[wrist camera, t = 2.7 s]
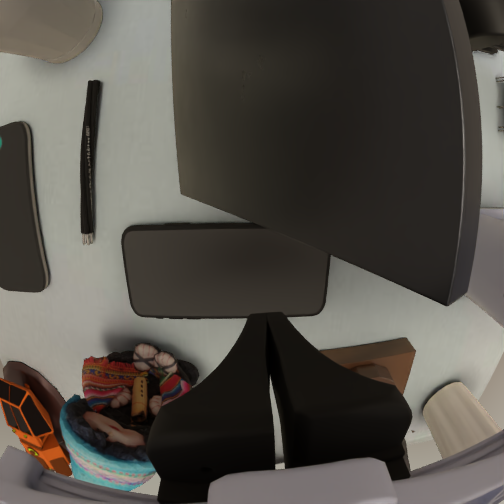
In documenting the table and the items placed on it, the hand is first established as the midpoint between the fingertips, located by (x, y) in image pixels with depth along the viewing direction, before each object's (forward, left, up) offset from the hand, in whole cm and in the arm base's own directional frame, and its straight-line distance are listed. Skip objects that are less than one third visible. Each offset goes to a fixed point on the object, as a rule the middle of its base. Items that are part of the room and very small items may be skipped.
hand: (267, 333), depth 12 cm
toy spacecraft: (+30, +21, -11) cm, 38 cm away
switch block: (-8, +13, -11) cm, 18 cm away
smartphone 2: (+2, +1, -11) cm, 11 cm away
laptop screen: (0, -16, -1) cm, 16 cm away
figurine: (+10, +9, -11) cm, 17 cm away
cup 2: (-21, +20, -11) cm, 31 cm away
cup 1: (+14, -20, -11) cm, 26 cm away
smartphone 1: (+21, -5, -11) cm, 25 cm away
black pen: (+12, -8, -11) cm, 18 cm away
